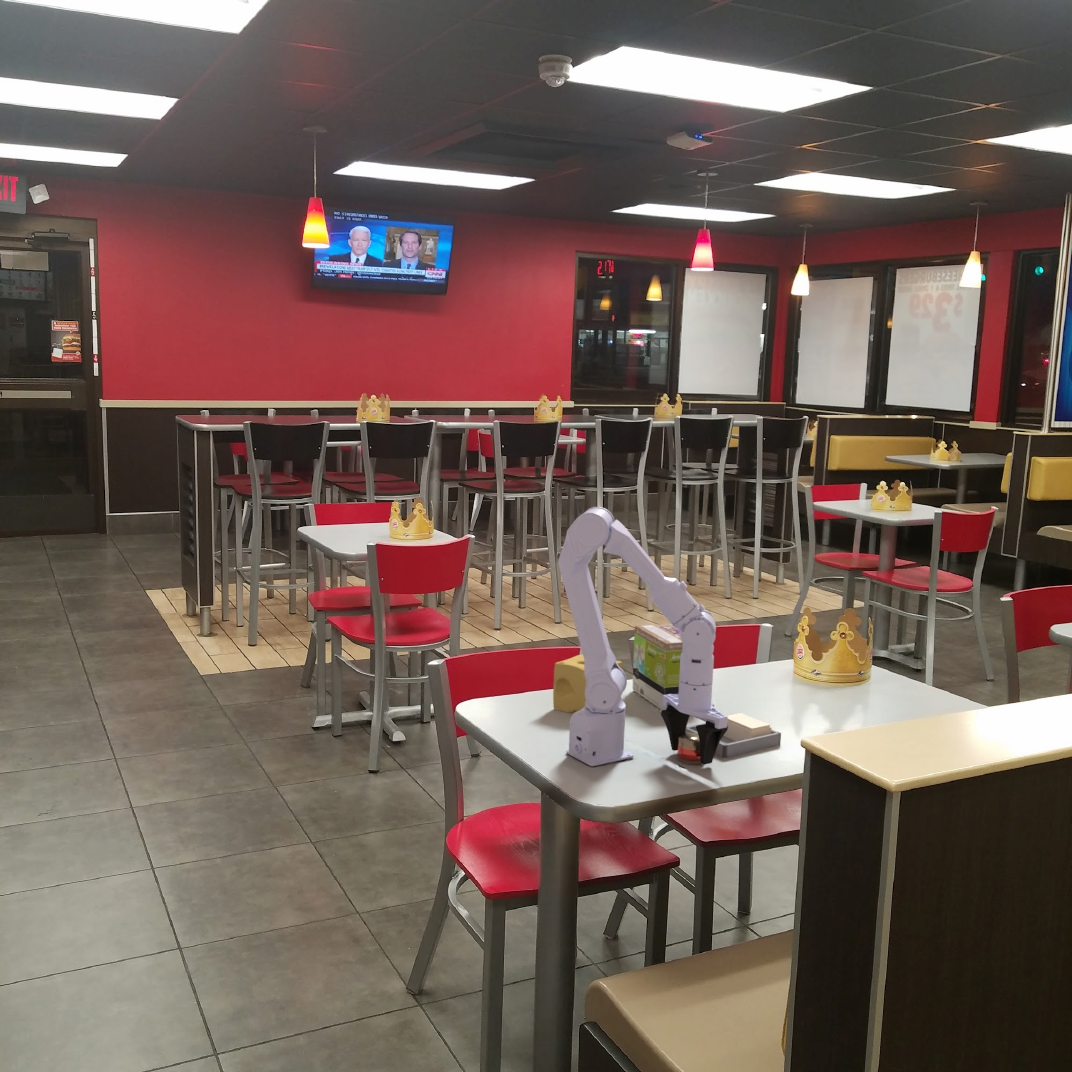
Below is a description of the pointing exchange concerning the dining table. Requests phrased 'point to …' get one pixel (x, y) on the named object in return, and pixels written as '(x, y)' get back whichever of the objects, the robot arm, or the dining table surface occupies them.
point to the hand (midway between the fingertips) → (691, 756)
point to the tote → (742, 743)
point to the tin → (689, 749)
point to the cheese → (570, 684)
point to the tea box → (657, 662)
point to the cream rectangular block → (745, 727)
